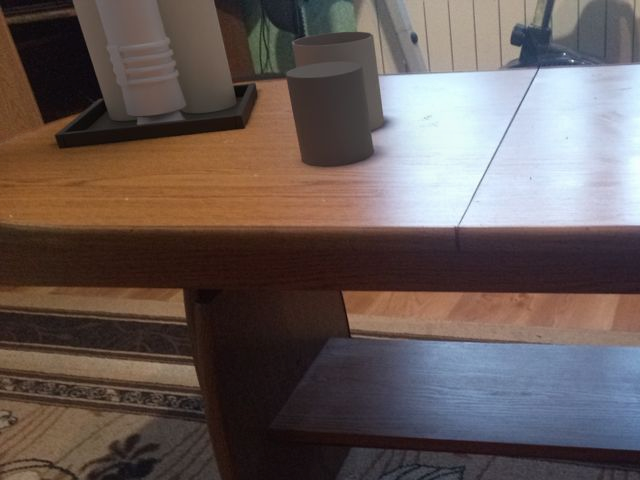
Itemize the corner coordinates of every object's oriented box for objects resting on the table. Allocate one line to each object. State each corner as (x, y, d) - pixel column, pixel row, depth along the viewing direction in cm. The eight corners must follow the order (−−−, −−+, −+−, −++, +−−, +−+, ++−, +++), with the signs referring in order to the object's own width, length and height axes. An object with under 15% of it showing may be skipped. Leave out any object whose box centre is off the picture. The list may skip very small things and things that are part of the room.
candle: (119, 132, 87) (75, -8, 79) (165, 117, 92) (128, -16, 84) (157, 136, 84) (115, -8, 76) (203, 121, 89) (168, -16, 81)
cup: (324, 151, 77) (307, 49, 71) (299, 135, 83) (281, 40, 78) (397, 135, 80) (385, 36, 75) (367, 120, 86) (355, 29, 81)
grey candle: (302, 180, 69) (283, 80, 64) (304, 159, 75) (287, 66, 70) (377, 172, 69) (363, 72, 65) (373, 151, 75) (360, 58, 71)
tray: (60, 153, 83) (54, 135, 82) (103, 114, 99) (98, 98, 98) (245, 133, 85) (241, 115, 84) (258, 98, 101) (255, 82, 100)
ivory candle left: (103, 123, 92) (60, -10, 84) (117, 110, 97) (78, -15, 90) (161, 117, 92) (124, -15, 84) (171, 105, 98) (137, -20, 90)
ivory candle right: (177, 115, 92) (141, -17, 85) (186, 103, 98) (154, -21, 91) (233, 109, 93) (203, -22, 85) (239, 97, 99) (212, -26, 91)
